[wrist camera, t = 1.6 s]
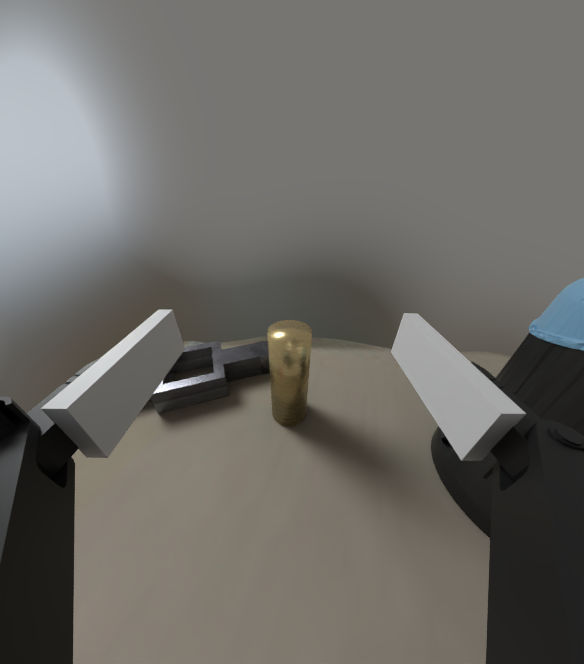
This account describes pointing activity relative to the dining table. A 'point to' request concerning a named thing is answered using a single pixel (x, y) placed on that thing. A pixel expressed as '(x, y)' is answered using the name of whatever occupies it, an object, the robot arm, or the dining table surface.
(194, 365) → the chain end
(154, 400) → the chain end
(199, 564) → the dining table surface
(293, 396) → the gold tall cylinder
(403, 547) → the dining table surface
